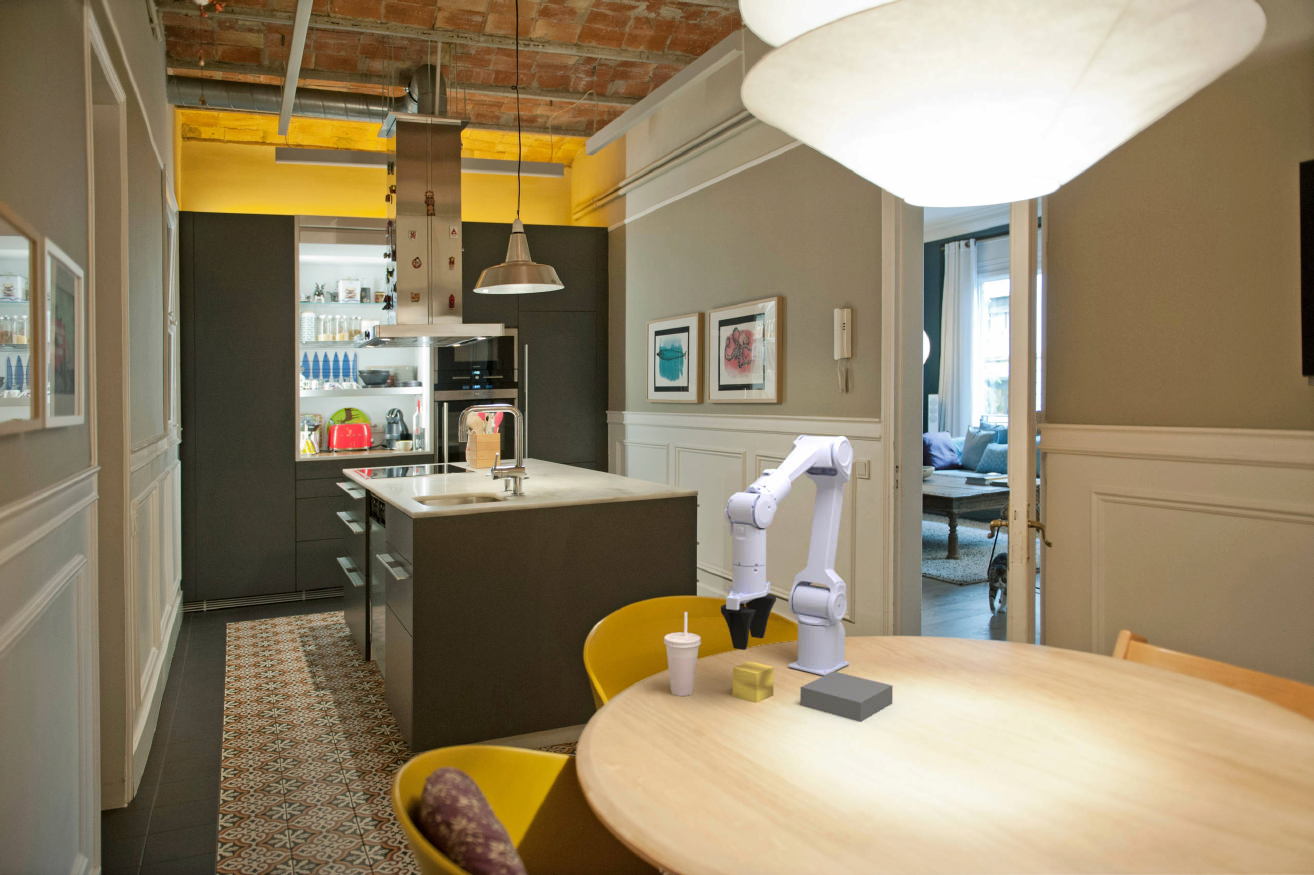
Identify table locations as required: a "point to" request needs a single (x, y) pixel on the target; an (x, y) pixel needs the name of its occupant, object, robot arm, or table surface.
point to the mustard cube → (753, 681)
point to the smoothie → (682, 660)
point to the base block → (846, 696)
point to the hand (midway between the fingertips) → (748, 643)
